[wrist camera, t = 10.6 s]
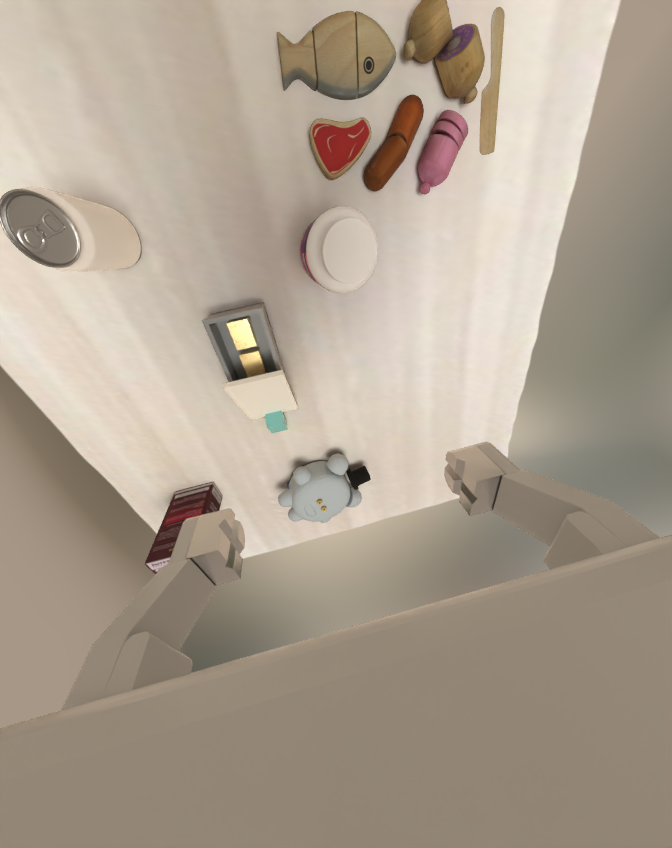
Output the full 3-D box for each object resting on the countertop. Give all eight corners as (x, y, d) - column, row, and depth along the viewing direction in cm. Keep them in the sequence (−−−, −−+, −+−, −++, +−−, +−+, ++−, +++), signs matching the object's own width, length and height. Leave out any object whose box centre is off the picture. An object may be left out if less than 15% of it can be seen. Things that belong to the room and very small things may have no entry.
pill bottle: (288, 257, 37) (291, 257, 25) (323, 202, 35) (345, 174, 23) (331, 297, 41) (352, 313, 29) (366, 249, 39) (404, 247, 27)
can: (67, 225, 32) (-30, 211, 22) (107, 192, 31) (25, 162, 21) (117, 278, 35) (53, 287, 25) (154, 250, 35) (103, 247, 25)
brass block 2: (240, 351, 42) (239, 355, 40) (259, 346, 42) (258, 351, 41) (249, 374, 45) (248, 379, 43) (267, 369, 45) (266, 374, 43)
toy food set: (504, -27, 28) (534, -66, 25) (489, 176, 37) (510, 168, 34) (271, 37, 28) (269, 6, 24) (314, 227, 37) (317, 224, 33)
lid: (222, 380, 38) (224, 404, 37) (281, 366, 39) (286, 389, 37) (254, 418, 51) (256, 437, 50) (298, 407, 52) (302, 425, 50)
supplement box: (185, 505, 58) (158, 578, 45) (174, 491, 56) (141, 564, 43) (224, 495, 59) (208, 565, 46) (214, 480, 56) (194, 549, 43)
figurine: (296, 516, 66) (368, 483, 67) (302, 546, 59) (382, 508, 60) (265, 469, 57) (350, 432, 58) (267, 498, 49) (364, 455, 51)
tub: (209, 314, 40) (201, 320, 36) (263, 302, 40) (261, 307, 36) (237, 382, 46) (234, 393, 42) (284, 371, 46) (284, 381, 42)
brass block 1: (228, 320, 40) (226, 323, 38) (248, 315, 40) (247, 318, 38) (239, 346, 42) (237, 350, 40) (257, 342, 42) (256, 345, 40)
